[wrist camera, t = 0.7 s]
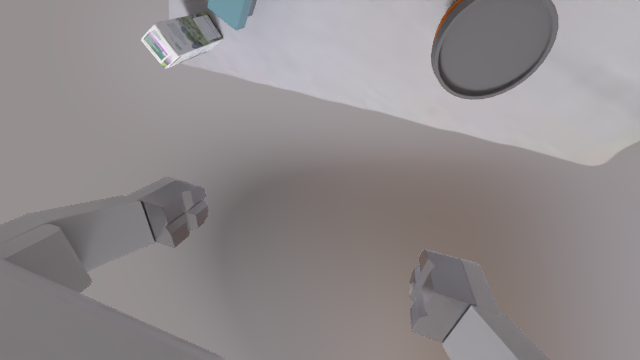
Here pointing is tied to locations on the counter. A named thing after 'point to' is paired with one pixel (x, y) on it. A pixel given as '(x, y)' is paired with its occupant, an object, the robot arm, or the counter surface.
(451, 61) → the reusable coffee cup
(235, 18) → the cover
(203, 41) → the syrup box
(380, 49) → the counter surface
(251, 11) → the block
